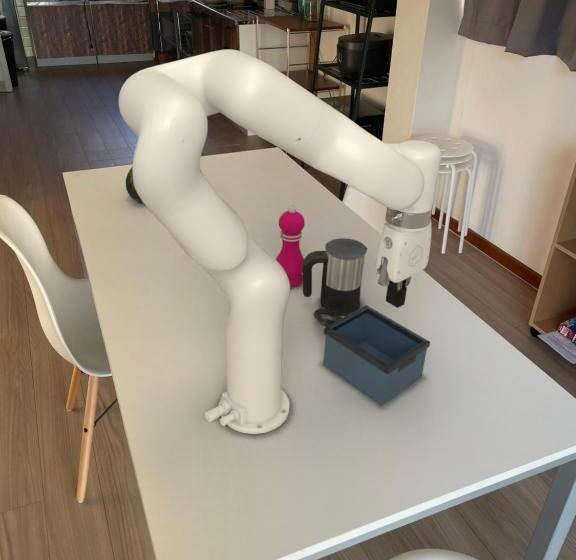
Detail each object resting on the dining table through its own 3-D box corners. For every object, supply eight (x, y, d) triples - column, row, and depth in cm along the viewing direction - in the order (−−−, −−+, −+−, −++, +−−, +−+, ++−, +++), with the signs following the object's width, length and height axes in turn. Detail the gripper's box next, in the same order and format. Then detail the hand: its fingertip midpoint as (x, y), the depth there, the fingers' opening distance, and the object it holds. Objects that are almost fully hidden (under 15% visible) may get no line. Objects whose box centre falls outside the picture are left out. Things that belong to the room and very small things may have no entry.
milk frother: (349, 290, 138) (355, 234, 131) (382, 327, 126) (390, 268, 118) (294, 300, 134) (297, 244, 126) (322, 340, 121) (327, 280, 114)
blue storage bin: (423, 378, 112) (382, 407, 105) (362, 339, 122) (321, 364, 115) (430, 341, 107) (388, 369, 100) (366, 304, 117) (323, 327, 110)
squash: (113, 178, 179) (126, 151, 167) (156, 169, 188) (171, 143, 176) (133, 217, 177) (148, 193, 165) (175, 206, 186) (192, 183, 174)
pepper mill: (301, 291, 137) (305, 214, 127) (271, 287, 139) (273, 210, 128) (306, 275, 143) (310, 201, 133) (278, 271, 145) (280, 198, 134)
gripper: (398, 235, 92) (384, 327, 102) (452, 210, 101) (434, 297, 111) (362, 219, 97) (353, 309, 106) (417, 196, 105) (403, 281, 115)
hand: (394, 303), depth 108 cm, fingers closed
